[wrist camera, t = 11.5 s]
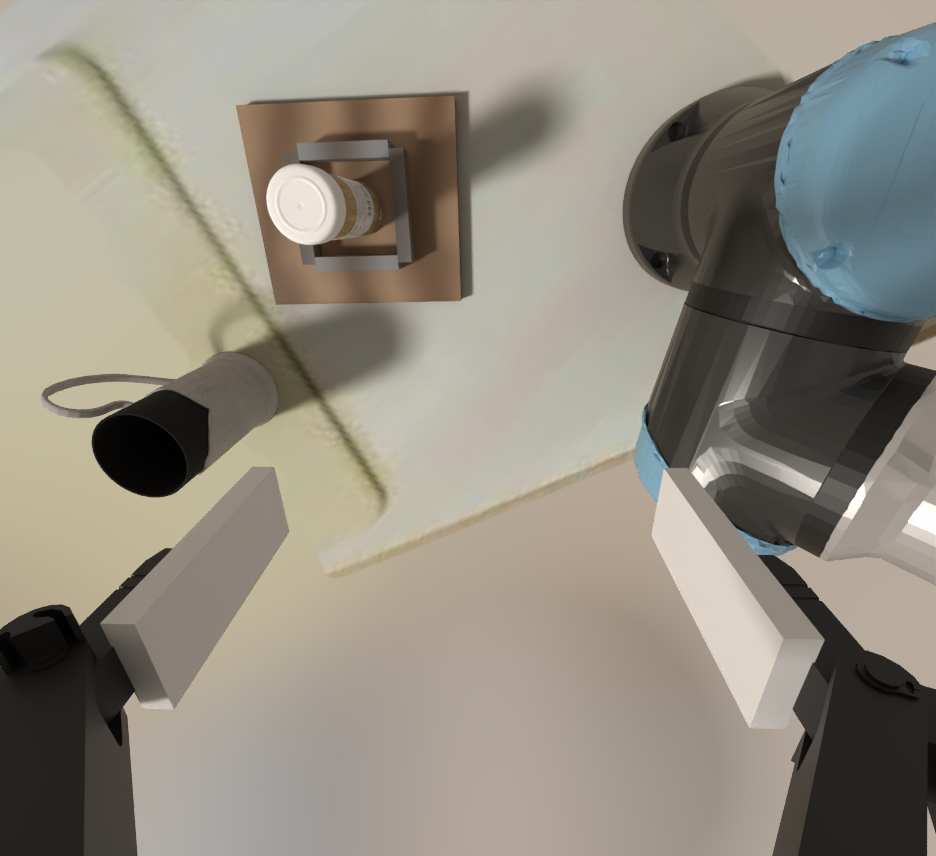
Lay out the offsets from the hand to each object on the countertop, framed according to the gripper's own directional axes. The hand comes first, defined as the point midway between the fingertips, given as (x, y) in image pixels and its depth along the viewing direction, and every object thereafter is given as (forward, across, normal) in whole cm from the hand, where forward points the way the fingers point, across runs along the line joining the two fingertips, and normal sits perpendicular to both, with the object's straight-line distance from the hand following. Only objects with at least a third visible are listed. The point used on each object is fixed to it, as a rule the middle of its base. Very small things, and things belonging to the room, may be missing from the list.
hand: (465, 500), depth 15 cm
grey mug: (+32, +29, +6) cm, 43 cm away
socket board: (+32, +11, -10) cm, 35 cm away
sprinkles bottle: (+31, +11, -10) cm, 34 cm away
